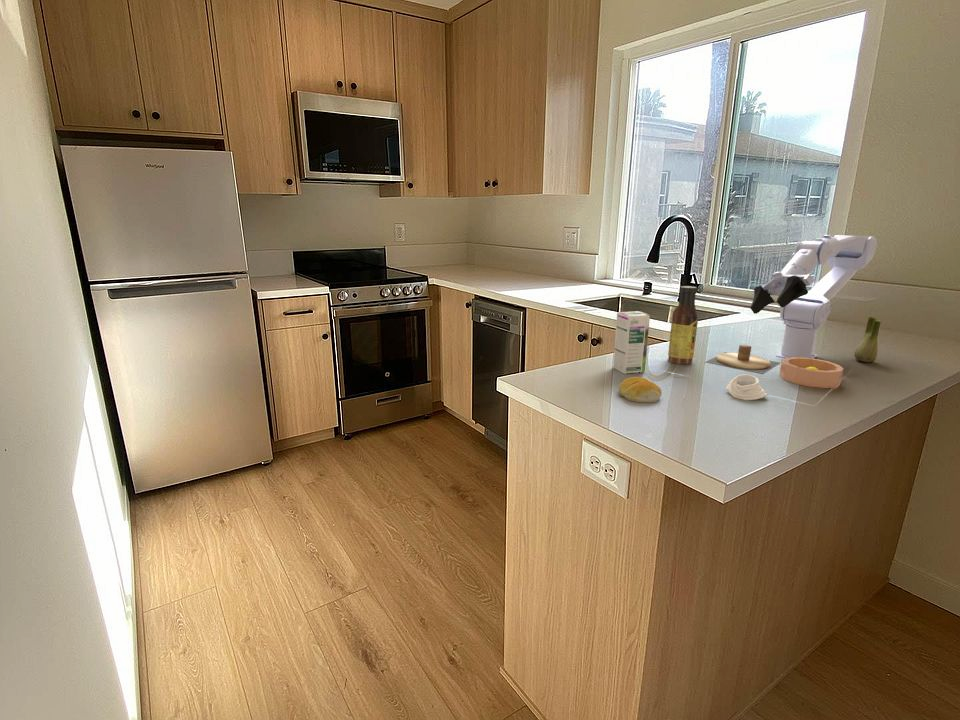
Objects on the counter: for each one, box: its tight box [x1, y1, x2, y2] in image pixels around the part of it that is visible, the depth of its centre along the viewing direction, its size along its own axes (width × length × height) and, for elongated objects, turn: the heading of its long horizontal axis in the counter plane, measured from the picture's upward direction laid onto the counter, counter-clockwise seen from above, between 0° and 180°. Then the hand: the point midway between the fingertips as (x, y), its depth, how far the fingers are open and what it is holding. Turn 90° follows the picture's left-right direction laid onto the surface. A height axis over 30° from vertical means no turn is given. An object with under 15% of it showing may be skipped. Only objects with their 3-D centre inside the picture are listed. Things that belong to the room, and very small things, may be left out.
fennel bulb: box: [853, 316, 882, 363], centre depth 139 cm, size 6×5×12 cm
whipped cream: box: [724, 373, 768, 401], centre depth 113 cm, size 8×7×5 cm
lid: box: [717, 344, 771, 370], centre depth 136 cm, size 13×13×4 cm
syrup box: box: [612, 310, 651, 375], centre depth 128 cm, size 6×6×14 cm
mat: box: [705, 352, 781, 375], centre depth 137 cm, size 14×14×1 cm
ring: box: [779, 357, 844, 390], centre depth 123 cm, size 12×12×4 cm
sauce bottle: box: [667, 285, 699, 366], centre depth 134 cm, size 6×6×20 cm
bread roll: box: [618, 376, 662, 403], centre depth 112 cm, size 8×9×4 cm
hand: (766, 307), depth 127 cm, fingers open, 7 cm apart
